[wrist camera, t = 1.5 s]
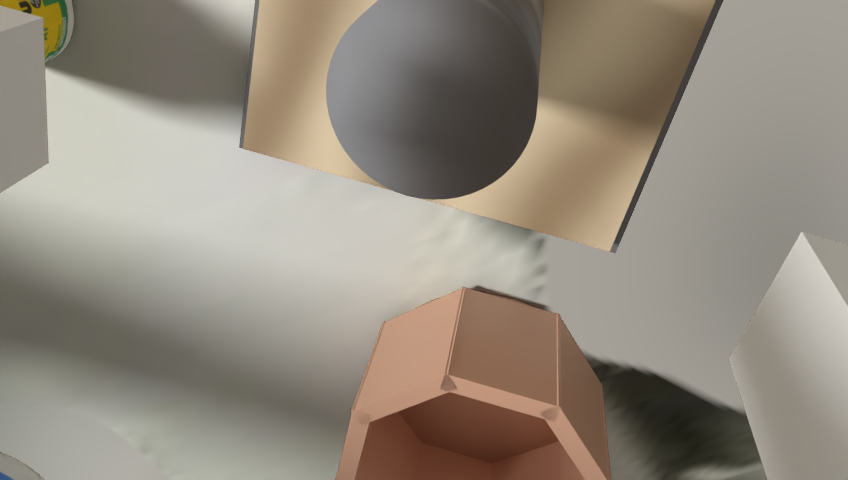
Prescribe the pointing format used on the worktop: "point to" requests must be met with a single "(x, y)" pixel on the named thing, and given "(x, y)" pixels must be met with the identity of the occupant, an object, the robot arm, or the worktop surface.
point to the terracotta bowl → (477, 397)
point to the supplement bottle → (49, 21)
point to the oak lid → (476, 100)
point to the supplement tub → (16, 469)
